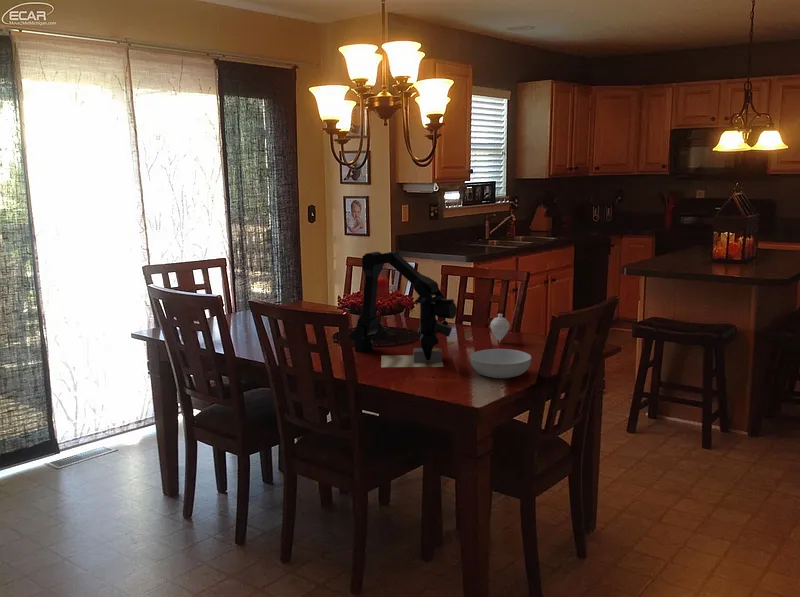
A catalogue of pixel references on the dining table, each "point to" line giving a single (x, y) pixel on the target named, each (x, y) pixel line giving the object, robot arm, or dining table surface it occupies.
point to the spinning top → (499, 327)
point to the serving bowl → (500, 362)
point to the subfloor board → (406, 362)
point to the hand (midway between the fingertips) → (427, 358)
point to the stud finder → (420, 357)
